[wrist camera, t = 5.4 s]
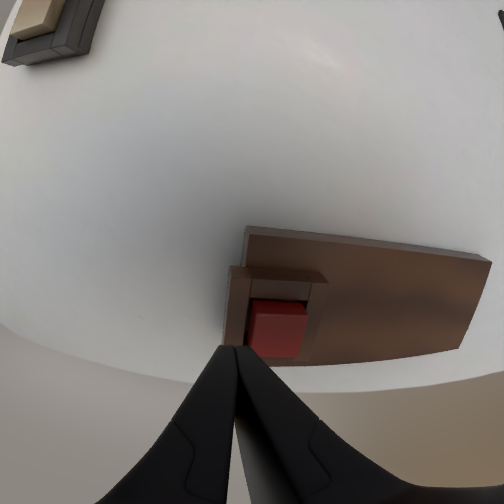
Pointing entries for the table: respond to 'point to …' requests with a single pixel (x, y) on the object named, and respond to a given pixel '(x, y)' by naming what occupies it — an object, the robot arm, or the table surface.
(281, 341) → the red key
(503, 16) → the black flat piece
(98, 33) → the table surface
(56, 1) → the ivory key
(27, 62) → the black key block
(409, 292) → the walnut key block
